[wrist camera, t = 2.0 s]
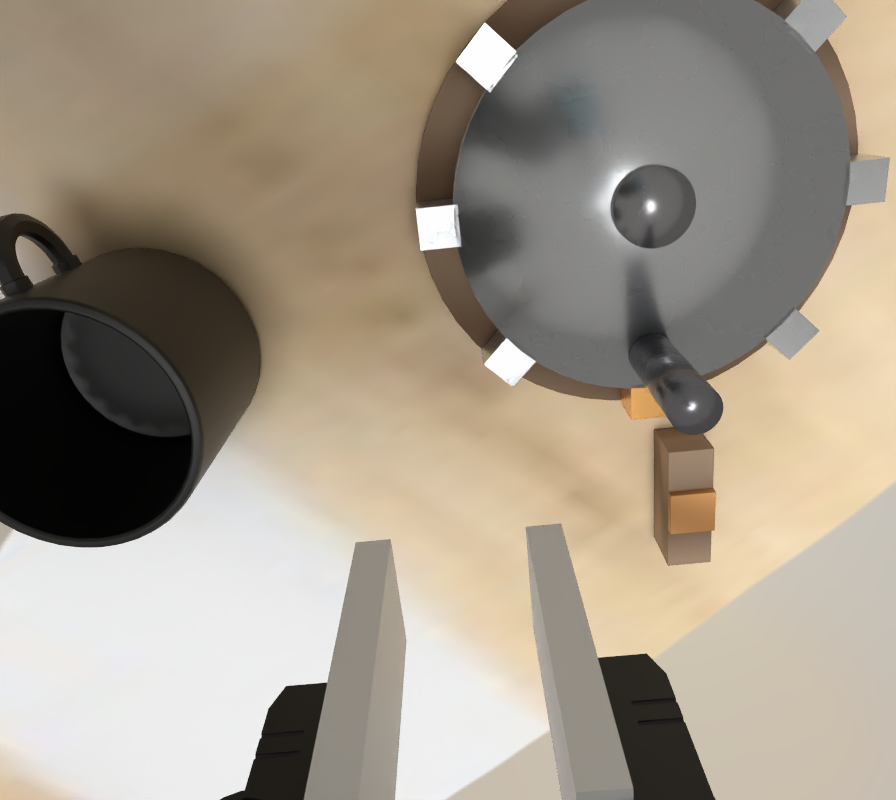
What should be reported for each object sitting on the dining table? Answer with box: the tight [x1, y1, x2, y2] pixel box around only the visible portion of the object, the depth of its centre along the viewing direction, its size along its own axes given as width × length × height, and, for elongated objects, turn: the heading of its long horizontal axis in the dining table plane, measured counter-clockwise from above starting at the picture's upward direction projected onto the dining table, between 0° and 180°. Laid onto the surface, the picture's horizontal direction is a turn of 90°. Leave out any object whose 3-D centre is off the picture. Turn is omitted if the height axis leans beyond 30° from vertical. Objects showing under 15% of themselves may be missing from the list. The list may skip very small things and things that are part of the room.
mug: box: [0, 213, 260, 547], centre depth 29 cm, size 9×12×9 cm
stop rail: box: [654, 428, 716, 566], centre depth 35 cm, size 6×2×3 cm, turn 6°
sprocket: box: [416, 0, 890, 435], centre depth 26 cm, size 18×18×8 cm
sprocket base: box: [416, 0, 858, 400], centre depth 31 cm, size 18×18×1 cm
